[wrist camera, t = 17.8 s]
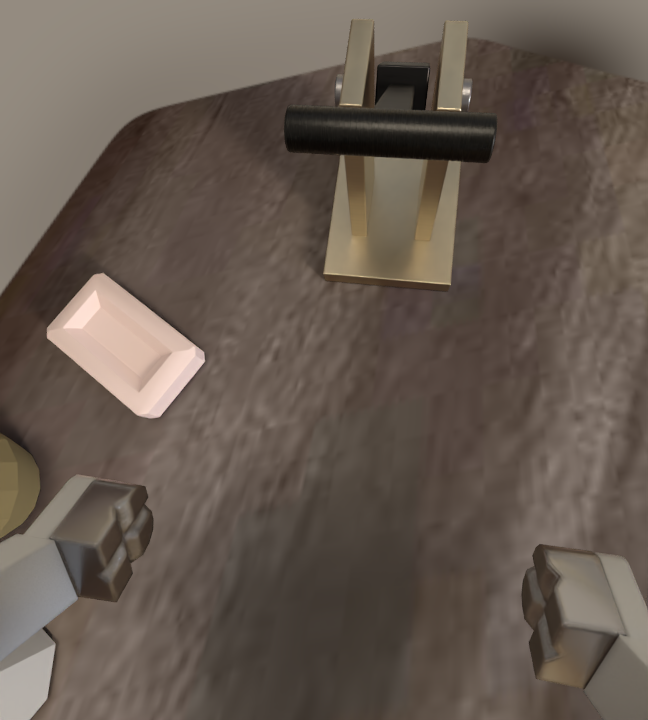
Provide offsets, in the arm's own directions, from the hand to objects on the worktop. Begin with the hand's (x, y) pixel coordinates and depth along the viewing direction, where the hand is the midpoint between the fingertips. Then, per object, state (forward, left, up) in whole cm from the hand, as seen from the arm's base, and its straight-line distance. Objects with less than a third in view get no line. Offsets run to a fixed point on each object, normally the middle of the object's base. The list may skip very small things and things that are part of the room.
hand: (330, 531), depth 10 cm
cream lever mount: (0, -18, -20) cm, 27 cm away
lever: (0, -14, -6) cm, 15 cm away
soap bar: (+16, -7, -20) cm, 26 cm away
